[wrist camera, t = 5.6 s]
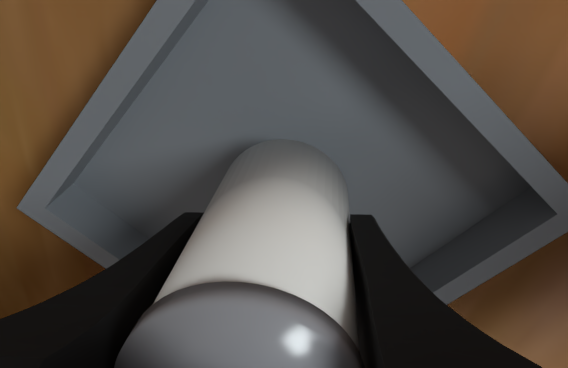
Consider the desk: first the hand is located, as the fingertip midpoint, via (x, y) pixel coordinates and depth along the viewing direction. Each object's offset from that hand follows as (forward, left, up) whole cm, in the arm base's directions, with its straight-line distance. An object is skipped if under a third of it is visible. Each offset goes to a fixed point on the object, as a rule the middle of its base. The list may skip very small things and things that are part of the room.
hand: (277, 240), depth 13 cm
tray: (0, 0, -4) cm, 4 cm away
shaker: (0, 0, -2) cm, 2 cm away
